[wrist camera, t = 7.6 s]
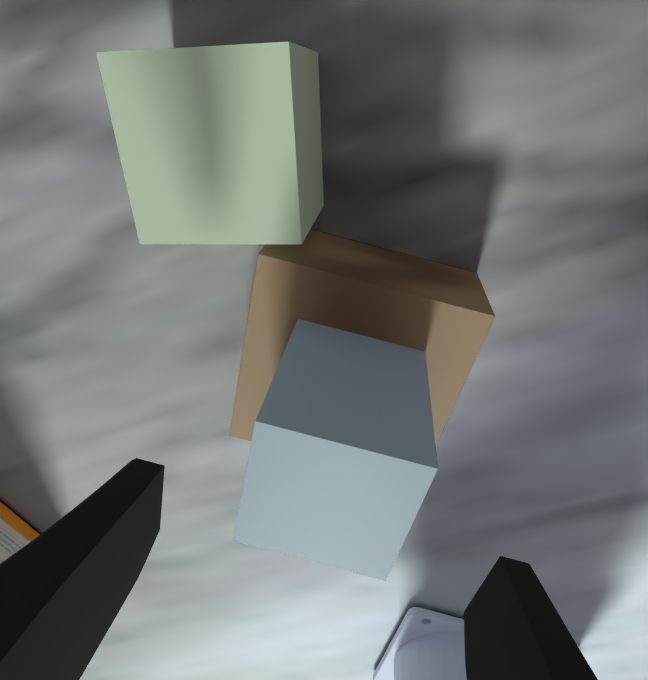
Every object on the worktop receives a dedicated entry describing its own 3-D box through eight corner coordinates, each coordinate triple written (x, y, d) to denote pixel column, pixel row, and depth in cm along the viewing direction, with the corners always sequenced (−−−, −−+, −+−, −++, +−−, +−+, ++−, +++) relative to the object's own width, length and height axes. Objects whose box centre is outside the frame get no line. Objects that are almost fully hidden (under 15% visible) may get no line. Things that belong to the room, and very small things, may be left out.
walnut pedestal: (476, 273, 17) (494, 316, 14) (414, 424, 20) (417, 485, 17) (283, 222, 17) (258, 254, 14) (254, 381, 20) (229, 435, 17)
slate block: (425, 351, 14) (437, 468, 10) (388, 448, 16) (385, 580, 12) (298, 318, 14) (255, 421, 10) (276, 418, 16) (233, 540, 12)
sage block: (318, 52, 14) (288, 41, 10) (324, 205, 16) (301, 244, 12) (175, 60, 15) (96, 52, 11) (199, 206, 17) (140, 244, 13)
